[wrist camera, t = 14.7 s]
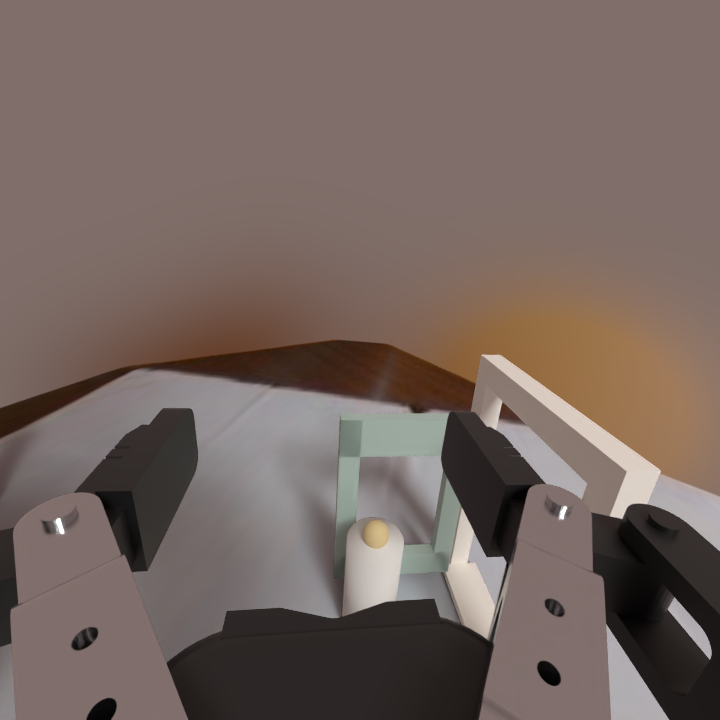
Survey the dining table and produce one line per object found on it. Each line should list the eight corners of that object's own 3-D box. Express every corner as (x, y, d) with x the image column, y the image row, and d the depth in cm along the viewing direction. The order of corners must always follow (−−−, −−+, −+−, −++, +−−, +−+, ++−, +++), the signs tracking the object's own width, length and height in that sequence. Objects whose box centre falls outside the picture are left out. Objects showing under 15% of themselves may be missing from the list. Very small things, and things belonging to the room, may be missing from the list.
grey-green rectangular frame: (440, 551, 44) (466, 406, 37) (447, 571, 41) (477, 419, 34) (332, 556, 42) (339, 406, 35) (333, 578, 39) (340, 420, 33)
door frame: (507, 753, 28) (609, 472, 19) (436, 554, 45) (471, 354, 35) (555, 748, 28) (678, 470, 19) (467, 553, 45) (510, 355, 36)
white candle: (343, 651, 34) (350, 549, 29) (340, 597, 39) (345, 503, 34) (397, 647, 34) (412, 546, 30) (387, 595, 39) (399, 501, 35)
